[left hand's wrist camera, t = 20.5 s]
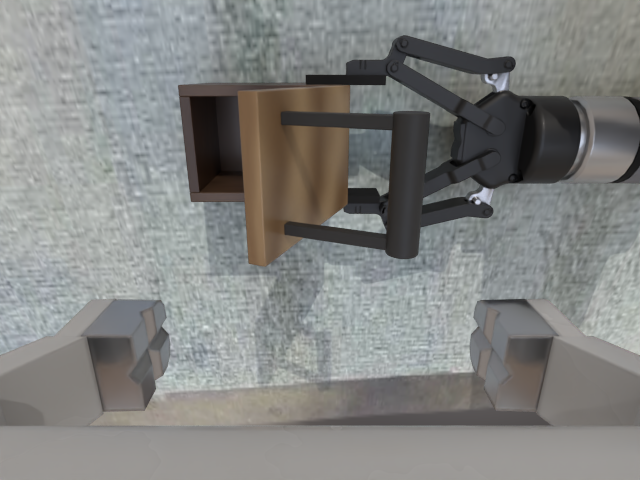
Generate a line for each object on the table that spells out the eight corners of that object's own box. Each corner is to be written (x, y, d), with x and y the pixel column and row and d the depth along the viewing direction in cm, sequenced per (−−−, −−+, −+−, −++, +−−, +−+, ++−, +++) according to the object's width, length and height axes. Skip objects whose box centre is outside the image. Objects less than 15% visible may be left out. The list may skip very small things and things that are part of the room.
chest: (215, 177, 46) (190, 202, 37) (207, 82, 43) (177, 85, 34) (336, 176, 46) (340, 201, 37) (337, 82, 43) (342, 84, 34)
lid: (248, 263, 25) (405, 292, 21) (237, 90, 21) (420, 93, 18) (334, 203, 37) (445, 215, 33) (336, 85, 33) (459, 86, 30)
